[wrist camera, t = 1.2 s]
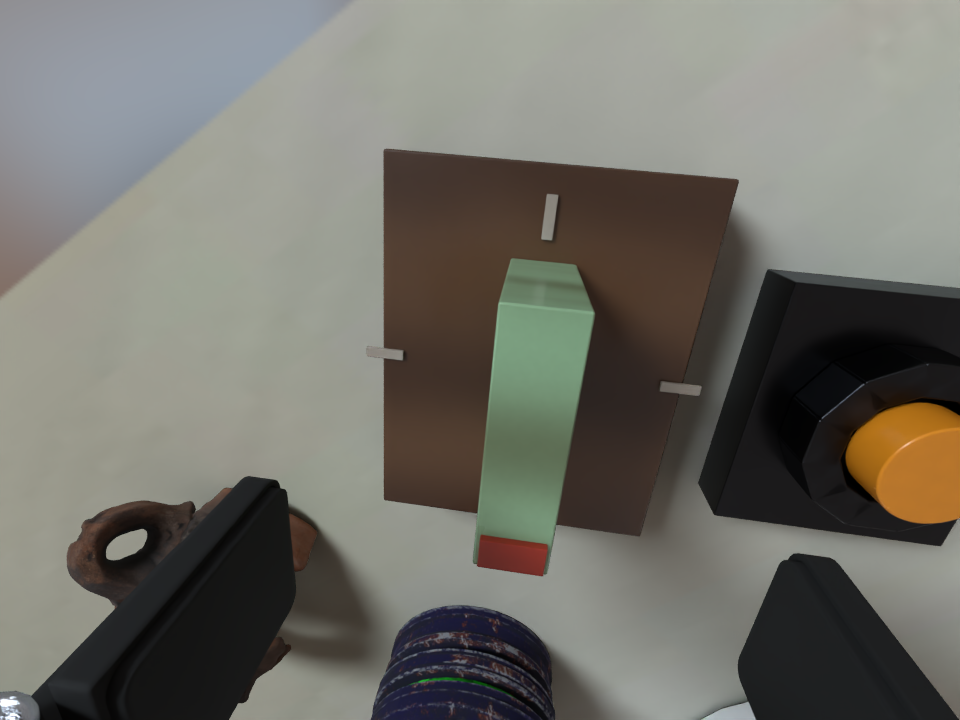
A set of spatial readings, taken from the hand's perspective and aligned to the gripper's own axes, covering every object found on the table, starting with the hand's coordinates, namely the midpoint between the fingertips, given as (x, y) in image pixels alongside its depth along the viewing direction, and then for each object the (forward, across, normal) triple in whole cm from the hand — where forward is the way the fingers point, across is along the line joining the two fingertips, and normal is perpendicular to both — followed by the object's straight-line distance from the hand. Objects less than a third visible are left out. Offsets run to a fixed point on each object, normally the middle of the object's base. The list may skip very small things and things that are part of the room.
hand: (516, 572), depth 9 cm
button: (+8, -13, +1) cm, 16 cm away
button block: (+12, -13, 0) cm, 18 cm away
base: (+12, 0, 0) cm, 12 cm away
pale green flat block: (+9, 0, 0) cm, 9 cm away
